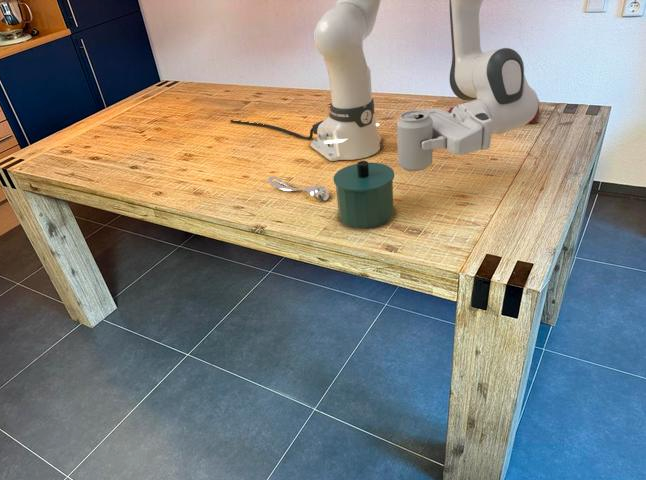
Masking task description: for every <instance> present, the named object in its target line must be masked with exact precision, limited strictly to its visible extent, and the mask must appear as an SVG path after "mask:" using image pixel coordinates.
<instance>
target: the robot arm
mask: <svg viewBox="0 0 646 480" xmlns="http://www.w3.org/2000/svg"><path fill="white" fill-rule="evenodd" d="M483 2H484V0H449V19H450V20H449V22H450V23H449V24H450V25H449V26H450V37H451V54H452V55H451V66H450V70H449V86H450V89H451V91H452V93H453V94H454V95H455V96H456V97H457V98H458V99H460V100H462V101H466V102H464V103H460V104H456V106H455V105H454V106H455V107H454V106H453V107H454V108H453V110H452V112H451V113H449V112H448V111H447V110H444V109H443V108H439V107H435V108H427V109H424V110H425V111H428V112H429V113H430V115H429V116H430V117H431V118H432V120H433V135H432V139H424V140H421V141H420V148H422V149H423V150H427V149H432V150H434V149H435V150H438V149H444V150H446V151H448V152H449V153H451V155H455V156H463V155H468V154H471V153H474V152H475V153H476V152H478V151H484V150H486V151H487V150H489V149H490V148H491V144H492V143H491V142H492V138H493V137H492V136H493V135H502V134H506V133H509V132H512V131H514V130H517V129H520V128H522V127H524V126H525V125H527V124H529V122H530V121H531V120H532V119H533V118H534V116H535V115H536V113H537V110H538V99H539V98H538V97H539V96H538V94H537V93H536V91H535V90H534V89H533V88H532V87H531V86H530V85H529V83H528V81H527V78H526V75H525V66H524V61H523V58H522V57H521V55H520V54H519V53H518V51H516V50H515V49H513V48H509V47H502V48H498V49H494V50H493V49H492V50H489V51H485V52H484V51H482V48H481V31H480V11H481V7H482V4H483ZM380 6H381V0H336V2H335V4H334V6H333V7H332V8H330V9H329V10H327V11H326V12H325V13H324V14H322V16H321V17H320V19H319V20H318V22H317V24H316V25H315V27H314V31H313V42H314V46H315V48H316V49H317V51H318V52H319V53H320V54H321V56H322V58H323V61H324V65H325V66H326V70H327V75H328V79H329V85H330V86H329V88H330V96H331V97H330V99H331V103H328V104H326V106H327V107H326V109H329V113H328V116H327V117H326V118H325V119H324V120H323V119H322V120H320V121H318V122H316V123H314V124H312V128H311V129H310V131H309V136H303V135H301V134H299V133H297V132H294V131H291V130H288V129H286V128H282V127H280V126H276V125H271V124H268V123H262V122H254V121H253V122H254V123H249V122H250V121H247V122H241V121H242V120H239V121H233V120H234V119H232V120H231V119H230V122H231V123H236V124H244V125H251V126H258V127H264V128H269V129H272V130H273V129H274V130H278V131H280V132H283V133H286V134H289V135H292V136H295V137H297V138H299V139H302V140H307V141H310V140H311V139H313V136H314V135H317V137H316V138H314V139H313V140H311V142H310V148H312V149H314V150H315V151H316V152H318V153H319V154H320V155H322V156H323V157H325V158H326V159H327V160H329V161H330V162H336V161H353V160H360V159H366V158H368V157H369V158H370V157H371V156H374V155H375V154H377V153H379V151H380V149H381V144H380V143H381V141H382V137H381V136H380V135H379V130H378V127H380V123H378V122H377V116H376V114H375V100H374V98H373V93H372V90H373V89H372V74H371V69H370V67H369V66H368V64H367V60H366V57H365V53H364V41H365V40H366V39H367V38H369V36H370V35H371V33H372V32H373V30H374V27H375V24H376V21H377V16H378V13H379V8H380ZM257 123H258V124H257ZM263 124H264V125H263Z"/></svg>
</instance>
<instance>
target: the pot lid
mask: <svg viewBox="0 0 646 480" xmlns="http://www.w3.org/2000/svg"><path fill="white" fill-rule="evenodd" d="M394 179H395V171H394V169H393V168H392V167H391V166H389V165H387V164H384V163H379V162H370V161H369V162H368V161H367V160H360V161H358V162H357V163H353V164H350V165H347V166H344V167H343V168H341V169H339V170H338V171H336V173H335V174H334V175H333V183H334V185H335V187H336V186H337V187H338V188H340V189H343V190H346V191H351V192H366V191H372V190H376V189H379V188H382V187H384V186H386V185H388V184H389V183H390V182H391V181H392V180H394Z"/></svg>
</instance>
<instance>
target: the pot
mask: <svg viewBox="0 0 646 480" xmlns="http://www.w3.org/2000/svg"><path fill="white" fill-rule="evenodd" d="M393 180H394V179H393ZM393 180H392V181H391V182H390V183H389V184H388V185H386V186H384V187H382V188H379V189H376V190H372V191H366V192H351V191H346V190H343V189H340V188H338V187H337V186H336V185H335V191H336V201H337V209H338V210H337V211H338V217H339V220H340V222H341V223H342V224H344V225H345V226H347V227H349V228H350V227H351V228H354V229H372V228H376V227H380V226H382V225H385V224H386V223H387V222H389V221H390V220H391V219H392V217H393V216H394V209H395V208H394V182H393Z"/></svg>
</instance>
